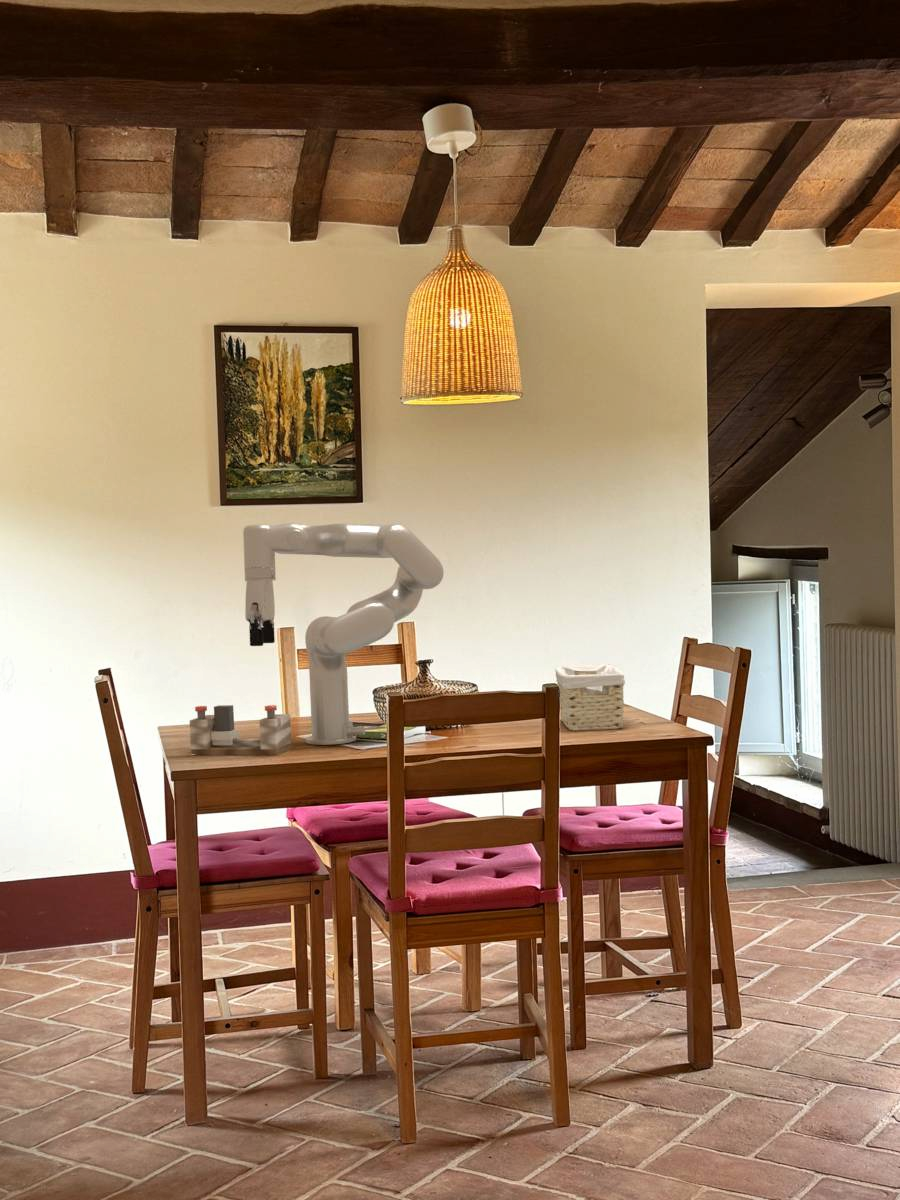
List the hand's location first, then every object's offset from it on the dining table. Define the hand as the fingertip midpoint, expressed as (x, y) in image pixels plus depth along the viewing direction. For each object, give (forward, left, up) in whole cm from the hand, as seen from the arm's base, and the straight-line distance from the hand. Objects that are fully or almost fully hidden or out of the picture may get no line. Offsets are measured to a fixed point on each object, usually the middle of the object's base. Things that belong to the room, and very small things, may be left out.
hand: (262, 644), depth 319 cm
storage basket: (-75, -39, -26) cm, 89 cm away
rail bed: (+4, +6, -26) cm, 27 cm away
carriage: (+8, +6, -24) cm, 26 cm away
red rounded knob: (+13, +8, -17) cm, 23 cm away
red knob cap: (-5, +8, -17) cm, 20 cm away
